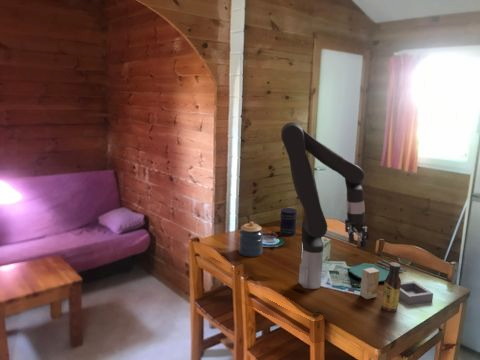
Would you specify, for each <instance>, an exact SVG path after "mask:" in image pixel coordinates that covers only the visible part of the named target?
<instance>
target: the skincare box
mask: <svg viewBox="0 0 480 360" xmlns="http://www.w3.org/2000/svg"><path fill="white" fill-rule="evenodd" d="M379 274H380V271H379V270H377V269H375V268H373V267H372V268H367V269H363V272H362V279H361V282H360V291H359V296H361V297H362V298H364V299H365V300H370V299H373V298H377V297H378V289H379V283H380V282H379Z"/></svg>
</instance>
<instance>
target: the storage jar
mask: <svg viewBox="0 0 480 360" xmlns="http://www.w3.org/2000/svg"><path fill="white" fill-rule="evenodd" d="M297 214H298V211H297V209H296V208H292V207H291V208H290V207H286V208H281V209H280V224H279V234H280V235H281V236H284V237H293V236H296V231H297V225H296V224H297Z"/></svg>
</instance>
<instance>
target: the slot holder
mask: <svg viewBox="0 0 480 360" xmlns="http://www.w3.org/2000/svg"><path fill="white" fill-rule="evenodd" d="M433 297H434V292H432V291H430V290H429V289H427V288H426V287H424V286H423V285H422V284H420V283H418V282H417V281H405V282H401V285H400V294H399V300H401V301H402V302H404V303H405V304H406V305H408V306H411V305H418V304H425V303H431V302H433Z"/></svg>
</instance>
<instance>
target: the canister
mask: <svg viewBox="0 0 480 360" xmlns="http://www.w3.org/2000/svg"><path fill="white" fill-rule="evenodd" d="M262 229H263V228H262V226H261V225H259V224H257V223H254V221H249V223H244V224H243V225H241V226H240V229H239V231H238V233H239V237H238V239H239V240H238V253H239V254H240V255H242V256H244V257H248V258H249V257H250V258H252V257H254V258H255V257H259V256H261V255H262V254H263V242H264V241H263V239H264V237H263V234H264V231H263V230H262Z"/></svg>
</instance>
